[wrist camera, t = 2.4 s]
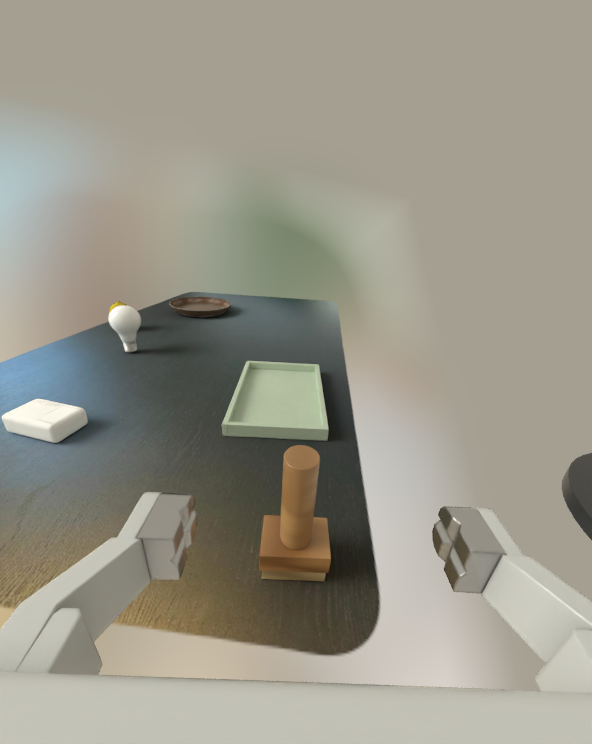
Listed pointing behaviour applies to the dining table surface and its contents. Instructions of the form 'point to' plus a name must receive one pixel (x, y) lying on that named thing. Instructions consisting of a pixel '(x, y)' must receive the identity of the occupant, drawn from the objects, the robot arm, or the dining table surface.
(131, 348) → the lightbulb
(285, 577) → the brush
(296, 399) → the tray
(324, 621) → the dining table surface
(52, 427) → the soap
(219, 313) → the plant saucer
